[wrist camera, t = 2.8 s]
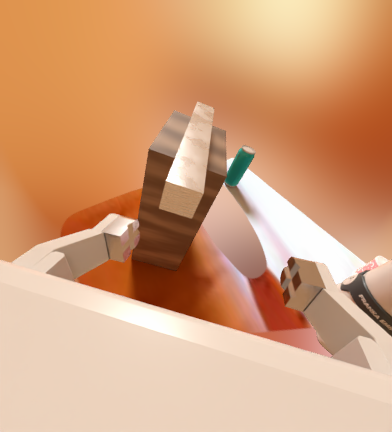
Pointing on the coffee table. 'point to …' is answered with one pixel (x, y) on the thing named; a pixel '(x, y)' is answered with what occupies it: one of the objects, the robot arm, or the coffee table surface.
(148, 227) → the wavy grain block
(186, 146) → the wooden bar
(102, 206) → the coffee table surface
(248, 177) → the coffee table surface
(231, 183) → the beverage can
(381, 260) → the beverage cup
